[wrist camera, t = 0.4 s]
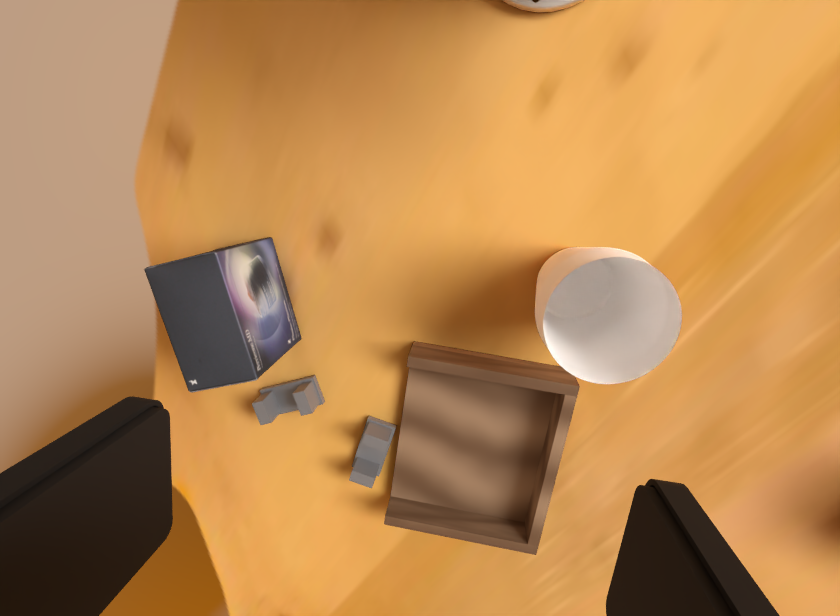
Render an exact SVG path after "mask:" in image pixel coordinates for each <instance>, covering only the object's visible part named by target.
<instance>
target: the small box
mask: <svg viewBox="0 0 840 616" xmlns="http://www.w3.org/2000/svg"><path fill="white" fill-rule="evenodd" d="M145 272H146V275H147V278H148V280H149V283H150V286H151V289H152V292H153V294H154V297H155V300H156V303H157V305H158V308H159V311H160V314H161V317H162V319H163V322H164V325H165V327H166V330H167V333H168V336H169V338H170V341H171V344H172V347H173V349H174V352H175V355H176V357H177V360H178V363H179V366H180V368H181V371H182V374H183V377H184V379H185V382H186V385H187V388H188V390H189V392H197V391H202V390H207V389H213V388H218V387H223V386H229V385H234V384H239V383H245V382H250V381H255V380H257V379H258V378H259V377H260V376H261V375H262V374H263V373H264V372H265V371H266V370H268V369H269V368H270V367H271V366H272V365H273V364H274V363H275V362H276V361H277V360H278V359H280V358H281V357H282V356H283V355H284V354H285V353H286V352H287V351H288V350H289V349H290V348H292V347H293V346H294V345H295V344H296V343H297V342H298V341H299V340H301V335H300V331H299V328H298V325H297V321H296V318H295V314H294V311H293V308H292V304H291V301H290V297H289V294H288V291H287V287H286V284H285V280H284V277H283V273H282V270H281V267H280V263H279V260H278V256H277V253H276V250H275V246H274V243H273V239H272V238H271V237H269V238H264V239H259V240H255V241H250V242H246V243H242V244H237V245H233V246H228V247H224V248H220V249H216V250H213V251H210V252H206V253H203V254H199V255H195V256H191V257H187V258H183V259H179V260H175V261H171V262H167V263H163V264H159V265H155V266H150V267H147V268H145Z"/></svg>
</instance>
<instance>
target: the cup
mask: <svg viewBox="0 0 840 616" xmlns="http://www.w3.org/2000/svg"><path fill="white" fill-rule="evenodd" d="M535 320H536V325H537V329H538V332H539V335H540V337H541V339H542V341H543V342H544V344H545V345H546V347H547V348H548V349H549V351H550V353H551V354H552V356H553V357H554V359H555V360H556V361H557V363H558V364H559V365H560V366H561V367H562V368H564V369H565V370H566V371H567V372H569V373H570V374H572V375H574V376H576V377H578V378H580V379H582V380H585V381H588V382H593V383H599V384H617V383H623V382H627V381H631V380H634V379H636V378H639V377H641V376H643V375H645V374H647V373H648V372H650V371H651V370H653V369H654V368H655V367H657V366H658V365H659V364H660V363H661V362H662V361H663V360H664V359H665V358H666V357H667V356H668V354H669V353H670V352H671V350H672V348H673V347H674V345H675V343H676V341H677V338H678V336H679V332H680V328H681V322H682V311H681V304H680V300H679V297H678V295H677V292H676V290H675V288H674V287H673V285H672V284H671V282H670V281H669V280H668V279H667V278H666V276H665V275H664V274H662V273H661V272H660V271H659V270H657V269H656V268H654V267H653V266H652V265H650V264H649V263H648V262H647V261H645V260H644V259H642V258H641V257H639V256H637V255H635V254H633V253H631V252H628V251H625V250H621V249H617V248H609V247H572V248H567V249H563V250H561V251H559V252H557V253H555V254H554V255H552V256H551V257H550V258H549V259H548V260H547V261H546V262H545V263H544V264H543V266H542V267H541V269H540V271H539V274H538V278H537V285H536V298H535Z"/></svg>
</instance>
